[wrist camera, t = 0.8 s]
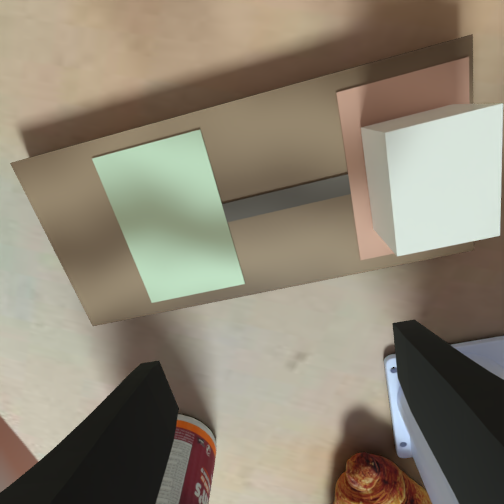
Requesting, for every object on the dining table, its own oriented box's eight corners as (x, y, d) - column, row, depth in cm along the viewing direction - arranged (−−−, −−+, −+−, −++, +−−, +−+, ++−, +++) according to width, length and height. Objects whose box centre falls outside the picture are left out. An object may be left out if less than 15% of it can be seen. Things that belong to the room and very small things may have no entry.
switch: (459, 240, 19) (475, 251, 18) (103, 312, 22) (92, 327, 21) (454, 40, 16) (473, 34, 14) (29, 158, 19) (8, 163, 17)
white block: (455, 211, 17) (500, 235, 14) (373, 228, 17) (397, 256, 14) (452, 103, 15) (503, 103, 12) (360, 127, 16) (385, 132, 12)
